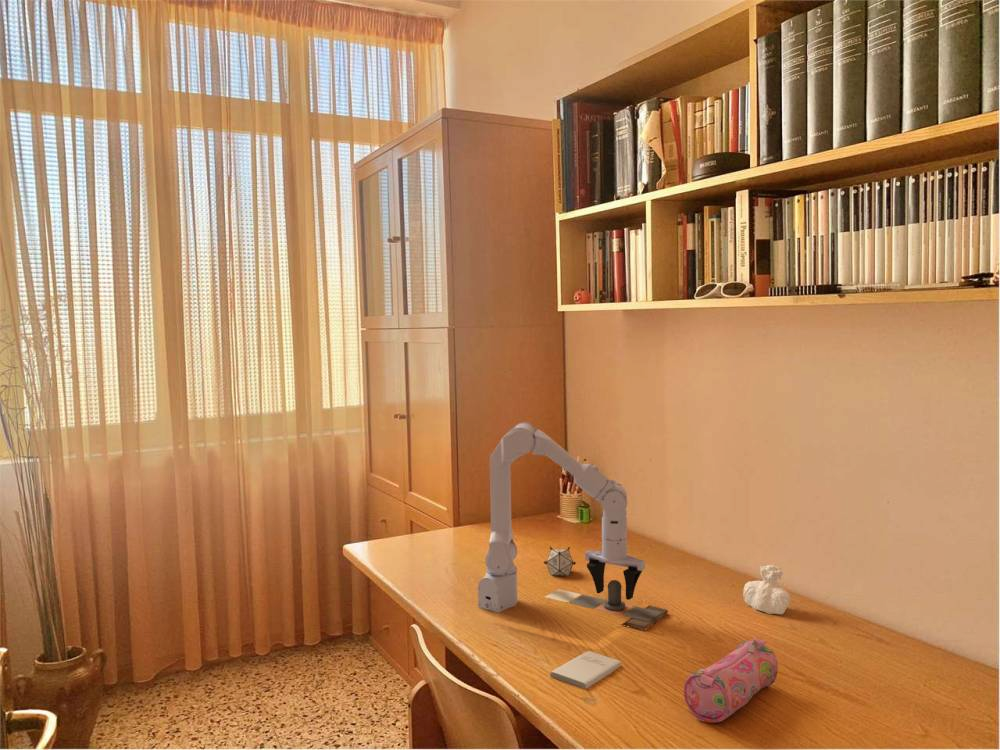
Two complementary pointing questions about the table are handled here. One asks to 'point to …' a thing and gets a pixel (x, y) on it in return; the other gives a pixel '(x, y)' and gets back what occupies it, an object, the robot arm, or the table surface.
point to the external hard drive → (586, 669)
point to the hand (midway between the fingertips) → (614, 595)
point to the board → (638, 615)
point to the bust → (767, 592)
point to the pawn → (614, 597)
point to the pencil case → (730, 681)
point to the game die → (559, 562)
